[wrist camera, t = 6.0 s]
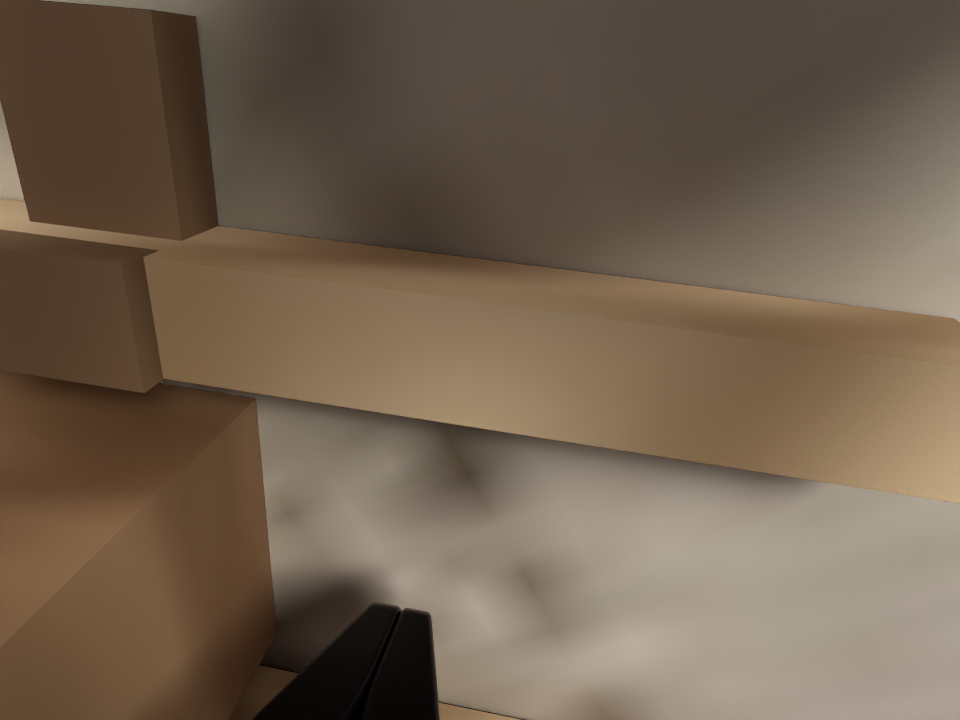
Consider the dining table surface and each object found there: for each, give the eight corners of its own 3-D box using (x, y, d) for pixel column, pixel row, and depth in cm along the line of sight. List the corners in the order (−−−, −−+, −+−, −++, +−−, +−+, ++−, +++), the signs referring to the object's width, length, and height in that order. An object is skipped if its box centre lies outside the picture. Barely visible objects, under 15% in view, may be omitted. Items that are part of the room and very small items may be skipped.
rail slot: (1056, 90, 6) (1759, 118, 2) (698, 883, 12) (741, 1210, 9) (-422, -38, 8) (-1259, -129, 4) (-66, 707, 14) (-284, 919, 11)
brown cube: (258, 396, 9) (-56, 701, 5) (278, 630, 11) (77, 989, 7) (-38, 348, 10) (-570, 582, 5) (36, 580, 12) (-296, 884, 7)
